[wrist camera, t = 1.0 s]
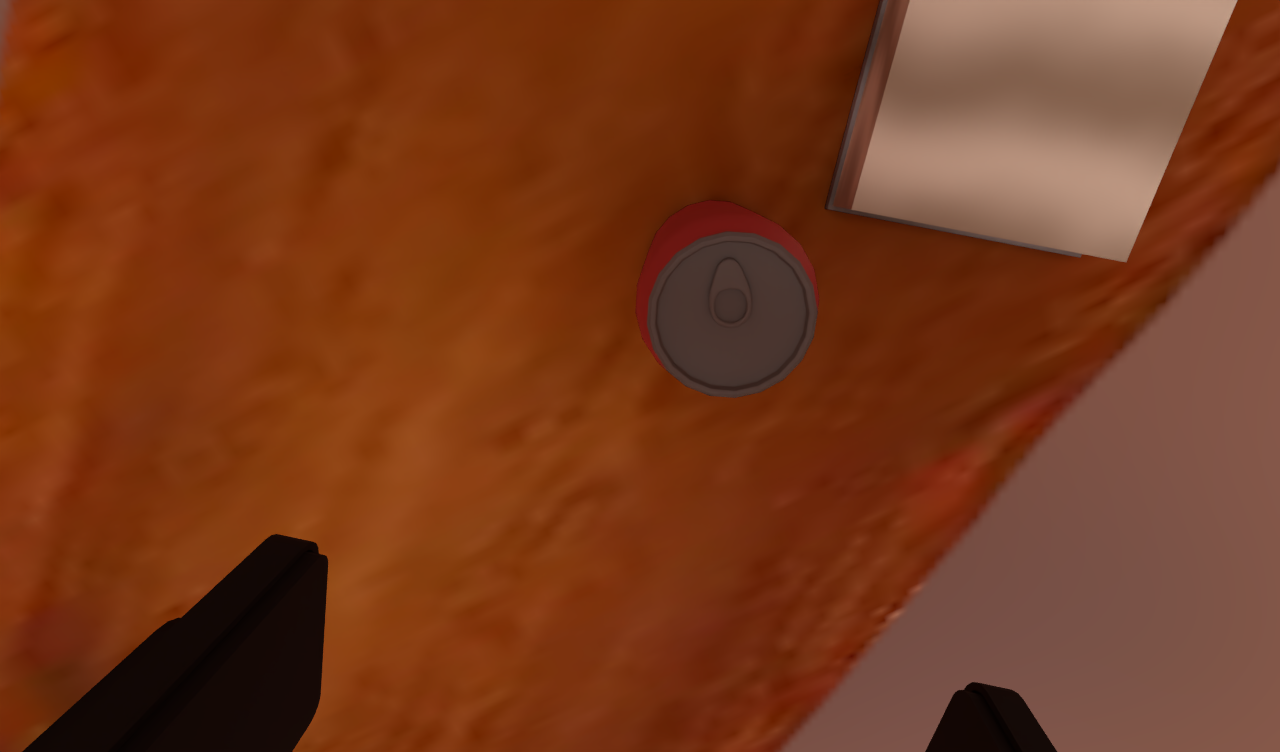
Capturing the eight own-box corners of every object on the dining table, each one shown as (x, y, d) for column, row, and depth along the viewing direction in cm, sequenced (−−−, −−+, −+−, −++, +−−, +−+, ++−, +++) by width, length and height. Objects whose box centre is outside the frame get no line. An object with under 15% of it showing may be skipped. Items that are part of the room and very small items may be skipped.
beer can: (775, 193, 31) (834, 205, 19) (778, 324, 33) (833, 406, 21) (641, 205, 31) (621, 224, 20) (652, 334, 33) (640, 419, 22)
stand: (902, -87, 27) (940, -130, 23) (1186, -32, 27) (1270, -65, 23) (824, 208, 31) (845, 213, 27) (1072, 255, 31) (1128, 267, 27)
